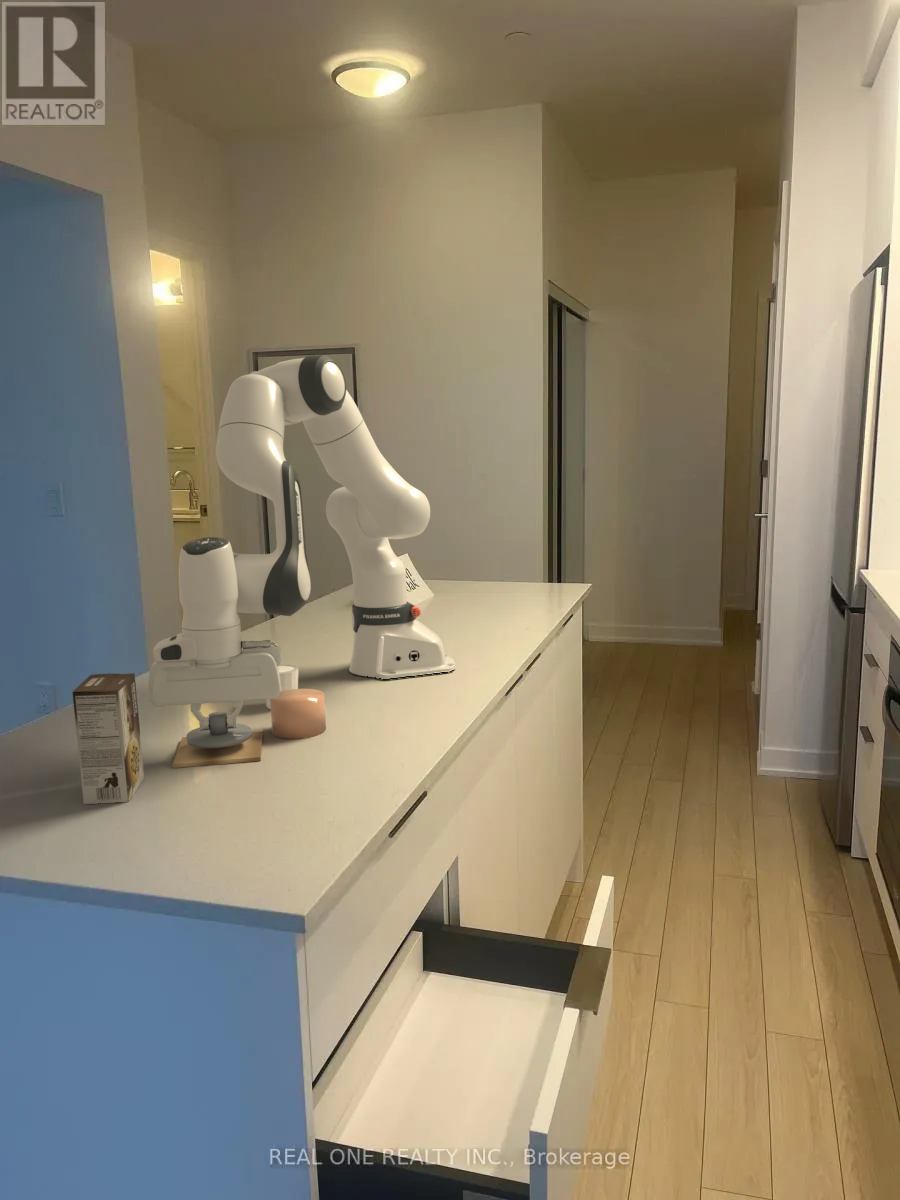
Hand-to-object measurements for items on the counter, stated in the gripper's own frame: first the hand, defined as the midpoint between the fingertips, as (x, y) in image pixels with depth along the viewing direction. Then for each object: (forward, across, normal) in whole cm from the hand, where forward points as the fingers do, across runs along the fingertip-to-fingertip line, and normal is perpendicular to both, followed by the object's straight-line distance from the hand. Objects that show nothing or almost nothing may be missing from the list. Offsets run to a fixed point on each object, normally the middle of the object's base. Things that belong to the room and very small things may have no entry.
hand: (218, 728), depth 146 cm
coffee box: (+4, +14, +15) cm, 20 cm away
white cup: (+4, -10, -23) cm, 26 cm away
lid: (+2, 0, 0) cm, 2 cm away
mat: (+4, 0, 0) cm, 4 cm away
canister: (+4, -12, -7) cm, 15 cm away
